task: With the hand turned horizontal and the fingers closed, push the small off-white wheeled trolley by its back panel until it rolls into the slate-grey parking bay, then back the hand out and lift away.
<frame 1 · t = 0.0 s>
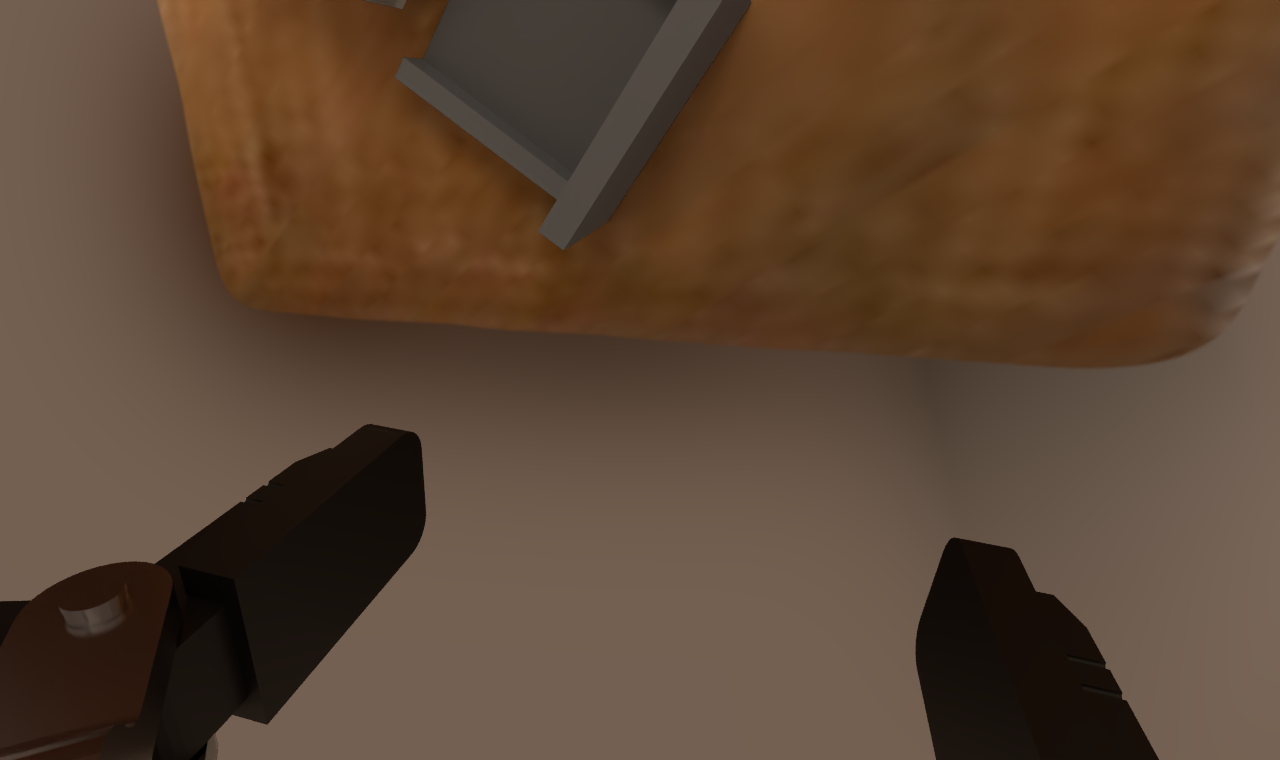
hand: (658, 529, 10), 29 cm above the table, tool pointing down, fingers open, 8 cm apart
parking bay: (561, 34, 35), on the table
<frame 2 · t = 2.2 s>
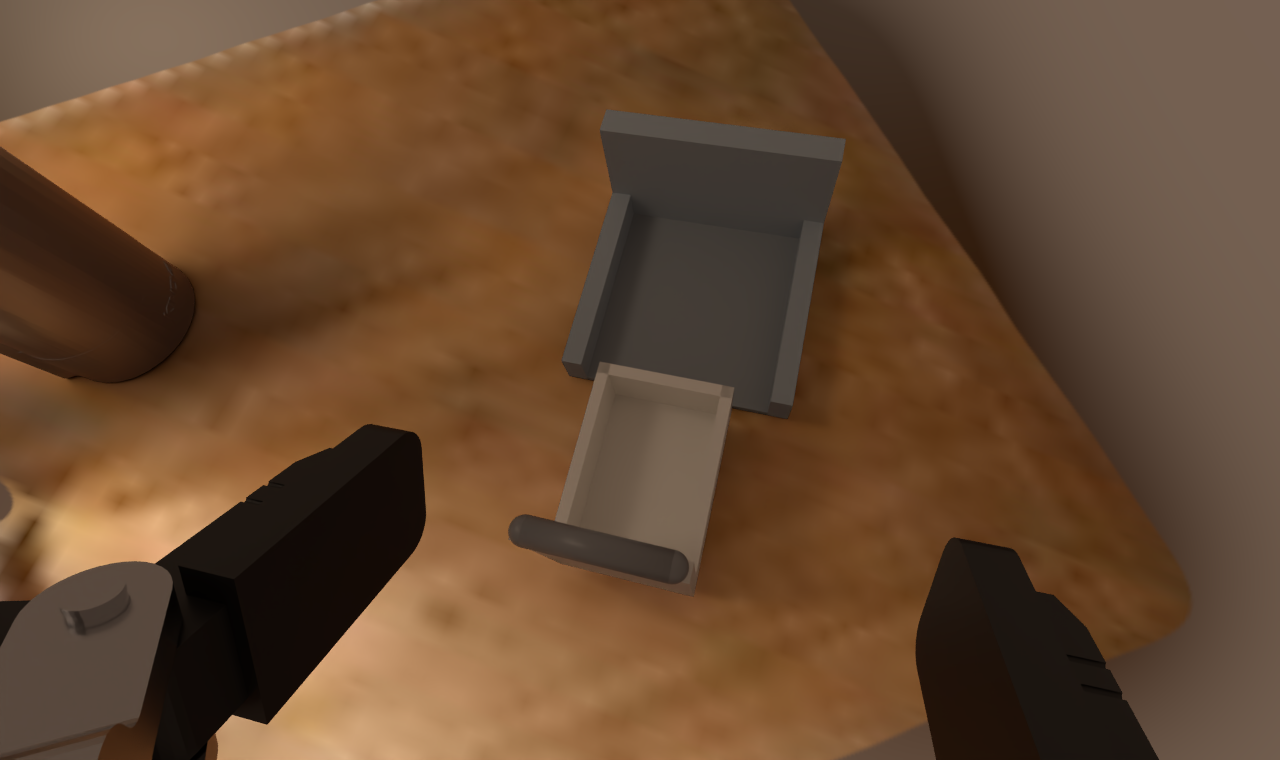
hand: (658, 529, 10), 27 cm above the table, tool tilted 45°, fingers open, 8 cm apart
parking bay: (695, 308, 41), on the table
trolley: (640, 466, 30), point 7 cm above the table, slide at 0.0 cm
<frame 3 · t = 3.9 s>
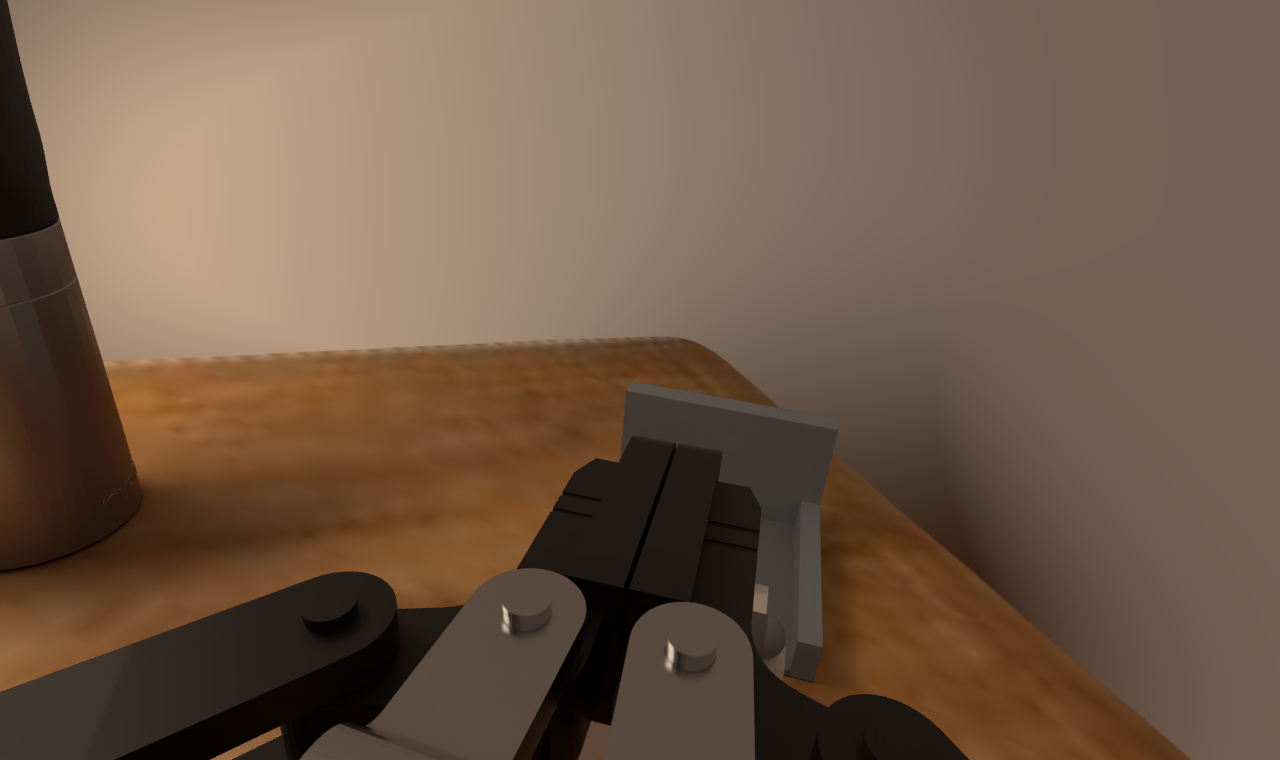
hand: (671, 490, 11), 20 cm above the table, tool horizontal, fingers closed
parking bay: (699, 571, 39), on the table
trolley: (674, 638, 25), point 7 cm above the table, slide at 0.0 cm
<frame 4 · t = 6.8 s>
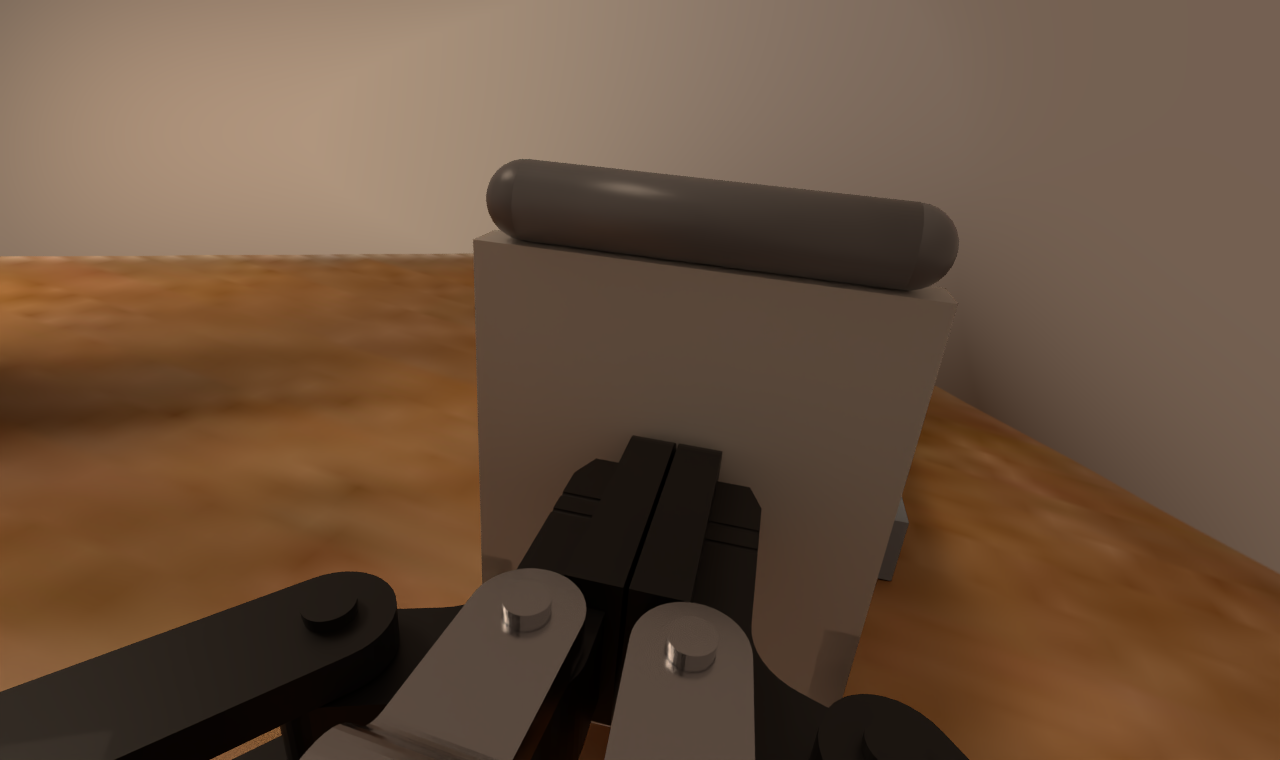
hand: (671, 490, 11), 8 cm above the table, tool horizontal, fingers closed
parking bay: (714, 457, 28), on the table
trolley: (702, 427, 16), point 7 cm above the table, slide at 1.3 cm, touching gripper
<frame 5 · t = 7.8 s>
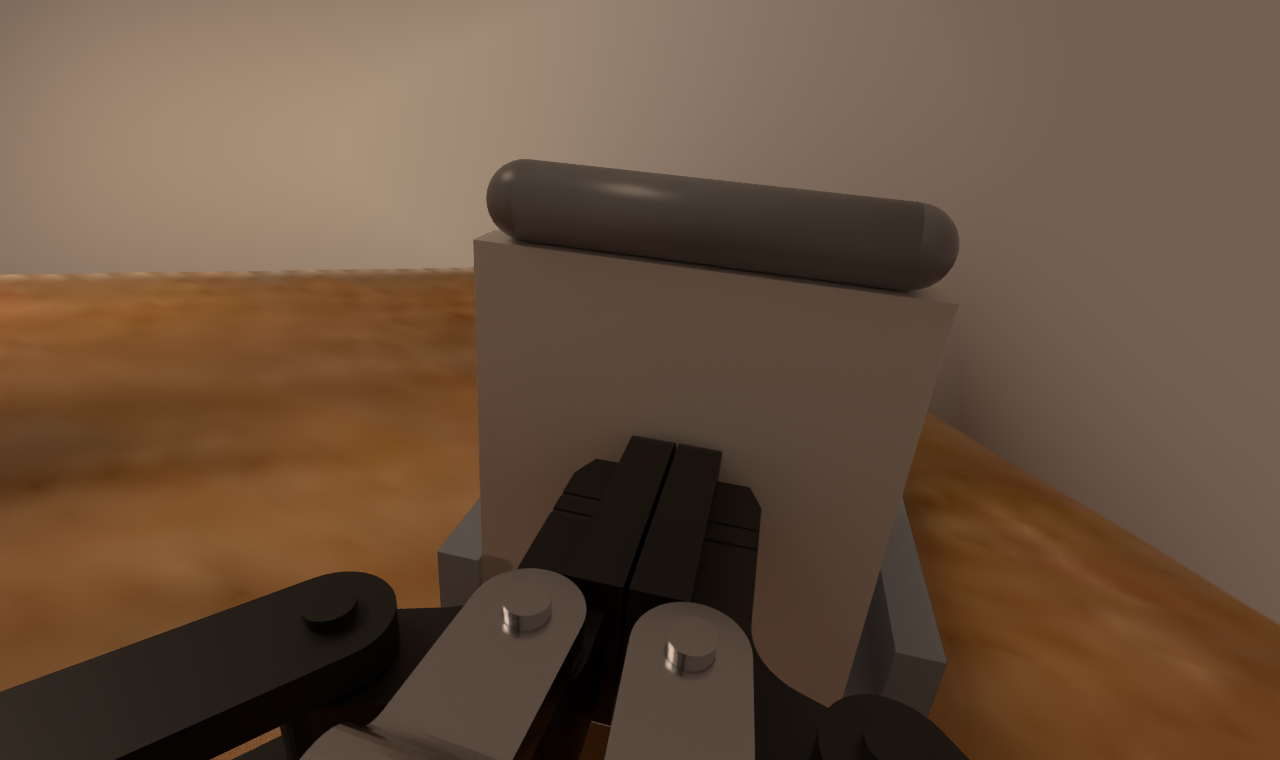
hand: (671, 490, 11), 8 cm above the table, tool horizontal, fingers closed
parking bay: (696, 538, 23), on the table
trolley: (702, 427, 16), point 7 cm above the table, slide at 7.1 cm, touching gripper
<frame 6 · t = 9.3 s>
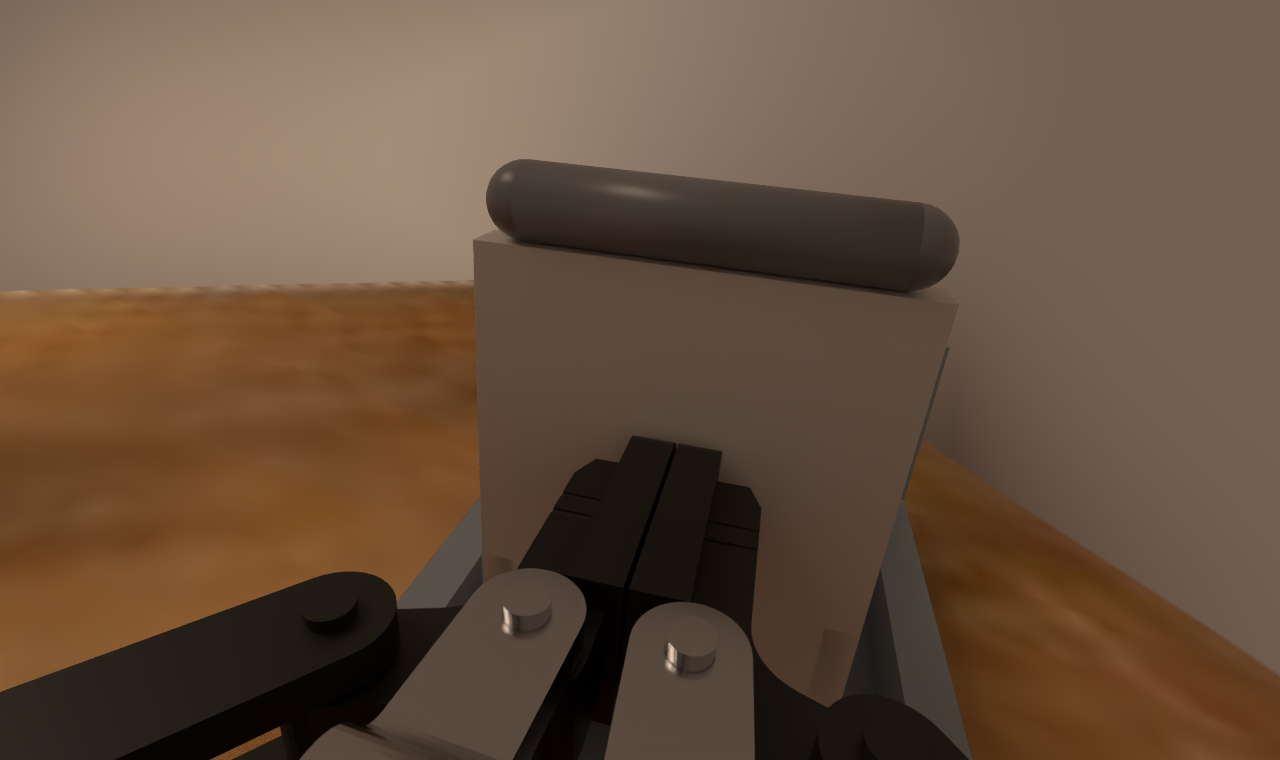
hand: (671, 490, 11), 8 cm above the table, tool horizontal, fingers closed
parking bay: (673, 639, 19), on the table
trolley: (702, 426, 16), point 7 cm above the table, slide at 12.0 cm, touching gripper
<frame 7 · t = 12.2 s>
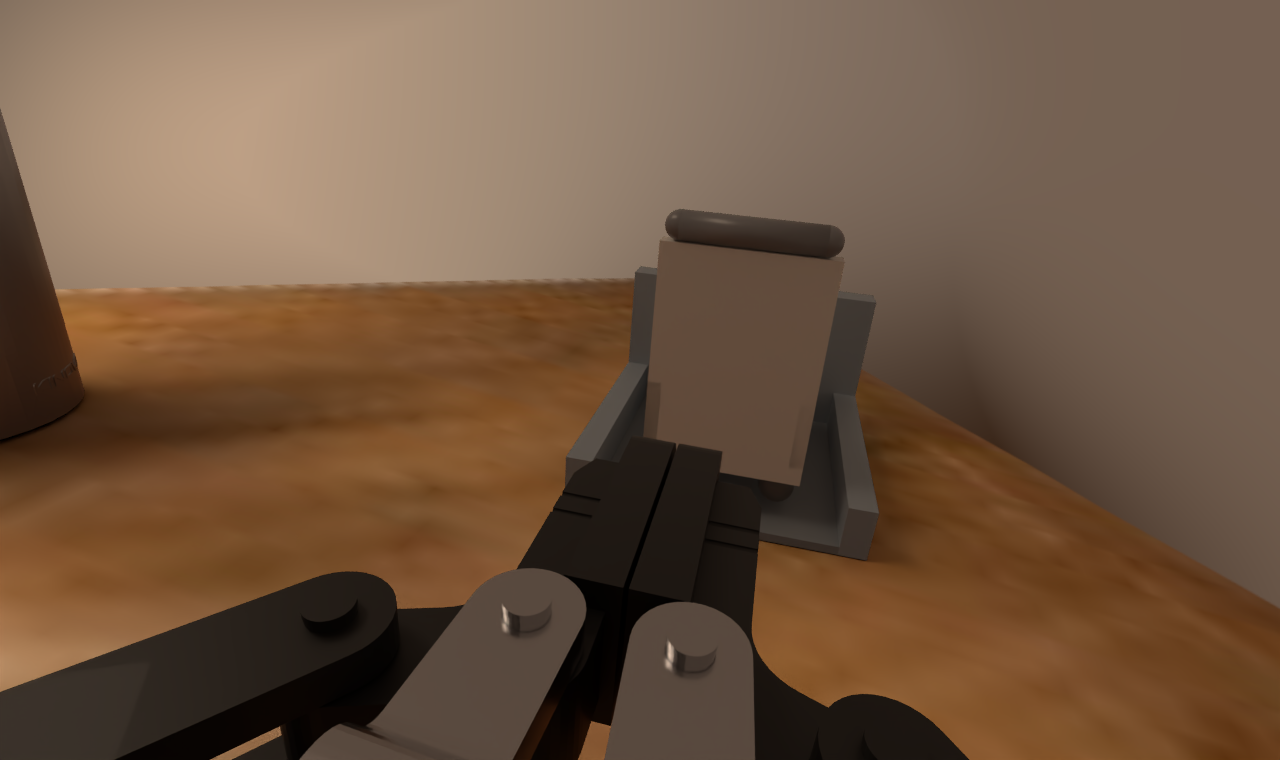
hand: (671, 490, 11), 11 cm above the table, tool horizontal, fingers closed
parking bay: (723, 463, 34), on the table
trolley: (741, 336, 31), point 7 cm above the table, slide at 12.0 cm
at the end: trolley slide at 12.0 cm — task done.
